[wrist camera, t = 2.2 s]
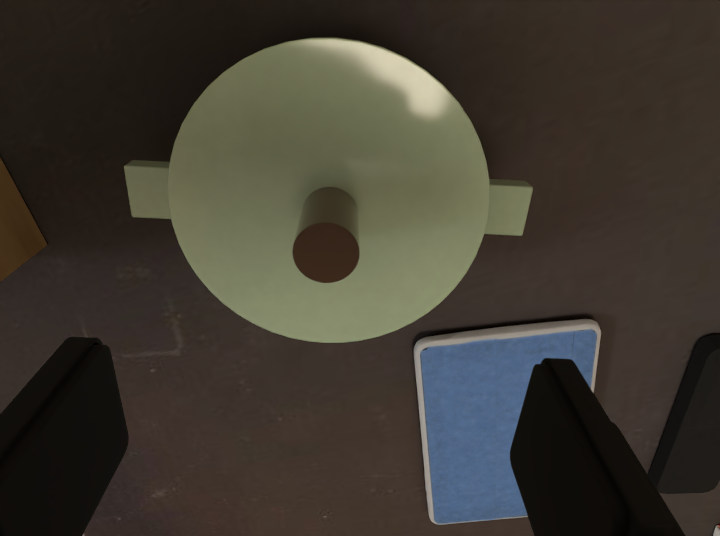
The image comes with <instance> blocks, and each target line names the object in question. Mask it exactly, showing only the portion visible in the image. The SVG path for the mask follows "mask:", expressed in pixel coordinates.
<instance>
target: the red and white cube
mask: <svg viewBox="0 0 720 536" xmlns="http://www.w3.org/2000/svg"><path fill="white" fill-rule="evenodd" d="M713 536H720V525H716V527H715V530H714V534H713Z"/></svg>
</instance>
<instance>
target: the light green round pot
mask: <svg viewBox="0 0 720 536" xmlns="http://www.w3.org/2000/svg"><path fill="white" fill-rule="evenodd" d="M169 163H170V162H160V161H141V160H132V161H130V162H129V163H127V164H126V165H125V166H124V172H125V178H126V184H127V190H128V196H129V202H130V208H131V214H132V217H141V218H162V219H171V215H170V210H169V204H168V186H167V184H168V172H169ZM489 182H490V204H489V212H488V220H487V224H486V228H485V232H484V234H498V235H518V236H521V235H522V234H523V230H524V226H525V222H526V217H527V213H528V209H529V204H530V200H531V196H532V191H533V187H532V186H531V185H530V184H529V183H528V182H527V181H519V180H500V179H489Z"/></svg>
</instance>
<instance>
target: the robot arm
mask: <svg viewBox="0 0 720 536" xmlns="http://www.w3.org/2000/svg"><path fill="white" fill-rule="evenodd" d="M127 446H128V431H127V426H126V421H125V417H124V412H123V407H122V403H121V398H120V394H119V389H118V384H117V380H116V375H115V370H114V366H113V361H112V356H111V352H110V348H109V347H108V346H107V345H103V344H102V342H101V340H100V339H98V338H85V337H70V338H67V339H66V340H65V341H64V342H63V343H62V345H61V346H60V347H59V348H58V349H57V350H56V351H55V353H54V354H53V355H52V356H51V357H50V358H49V359H48V361H47V362H46V363H45V364H44V365H43V366H42V367H41V369H40V370H39V371H38V372H37V373H36V374H35V375H34V377H33V378H32V379H31V380H30V381H29V382H28V383H27V385H26V386H25V387H24V388H23V389H22V390H21V391H20V393H19V394H18V395H17V396H16V397H15V398H14V399H13V401H12V402H11V403H10V404H9V405H8V406H7V407H6V409H5V410H4V411H3V412H2V413H1V414H0V536H82V535H83V533H84V531H85V529H86V527H87V525H88V523H89V521H90V519H91V517H92V515H93V514H94V512H95V510H96V508H97V506H98V504H99V502H100V500H101V498H102V496H103V494H104V492H105V490H106V489H107V487H108V485H109V483H110V481H111V479H112V477H113V475H114V473H115V471H116V469H117V467H118V465H119V463H120V462H121V460H122V458H123V456H124V454H125V452H126V449H127ZM510 463H511V467H512V470H513V473H514V476H515V479H516V482H517V485H518V488H519V491H520V494H521V497H522V500H523V503H524V506H525V509H526V512H527V515H528V518H529V521H530V524H531V527H532V530H533V533H534V536H685V534H684V533H683V531H682V529H681V528H680V526H679V525H678V523H677V521H676V520H675V518H674V517H673V515H672V513H671V512H670V510H669V509H668V507H667V505H666V504H665V502H664V500H663V499H662V497H661V496H660V494H659V492H658V491H657V489H656V488H655V486H654V484H653V483H652V481H651V480H650V478H649V476H648V475H647V473H646V472H645V470H644V468H643V467H642V465H641V464H640V462H639V460H638V459H637V457H636V455H635V454H634V452H633V451H632V449H631V447H630V446H629V444H628V443H627V441H626V439H625V438H624V436H623V435H622V433H621V431H620V430H619V428H618V427H617V426H616V425H615V424H614V423H613V422H611V421H610V419H609V418H608V416H607V415H606V413H605V411H604V410H603V408H602V406H601V405H600V403H599V402H598V400H597V398H596V397H595V395H594V393H593V392H592V390H591V388H590V387H589V385H588V384H587V382H586V380H585V379H584V377H583V375H582V374H581V372H580V371H579V369H578V367H577V366H576V364H575V363H574V361H573V360H571V359H559V358H544V359H543V360H542V362H541V364H535V365H534V367H533V370H532V373H531V377H530V380H529V384H528V388H527V391H526V395H525V398H524V402H523V406H522V409H521V413H520V416H519V420H518V424H517V427H516V431H515V434H514V438H513V442H512V445H511V449H510Z"/></svg>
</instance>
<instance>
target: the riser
mask: <svg viewBox="0 0 720 536" xmlns="http://www.w3.org/2000/svg"><path fill="white" fill-rule="evenodd" d="M45 246H47V243H46V241H45V239H44V237H43V235H42V233H41V232H40V230H39V228H38V226H37V224H36V222H35V220H34V219H33V217H32V215H31V213H30V211H29V209H28V207H27V206H26V204H25V202H24V200H23V198H22V196H21V195H20V193H19V191H18V189H17V187H16V185H15V183H14V182H13V180H12V178H11V176H10V174H9V172H8V170H7V169H6V167H5V165H4V163H3V161H2V159H1V158H0V282H1V281H2V280H3V279H4V278H6V277H7V276H8V275H10V274H11V273H12V272H13V271H15V270H16V269H17V268H19V267H20V266H21V265H22V264H24V263H25V262H26V261H27V260H29V259H30V258H31V257H33V256H34V255H35V254H36V253H38V252H39V251H40V250H41V249H43V248H44V247H45Z"/></svg>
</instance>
